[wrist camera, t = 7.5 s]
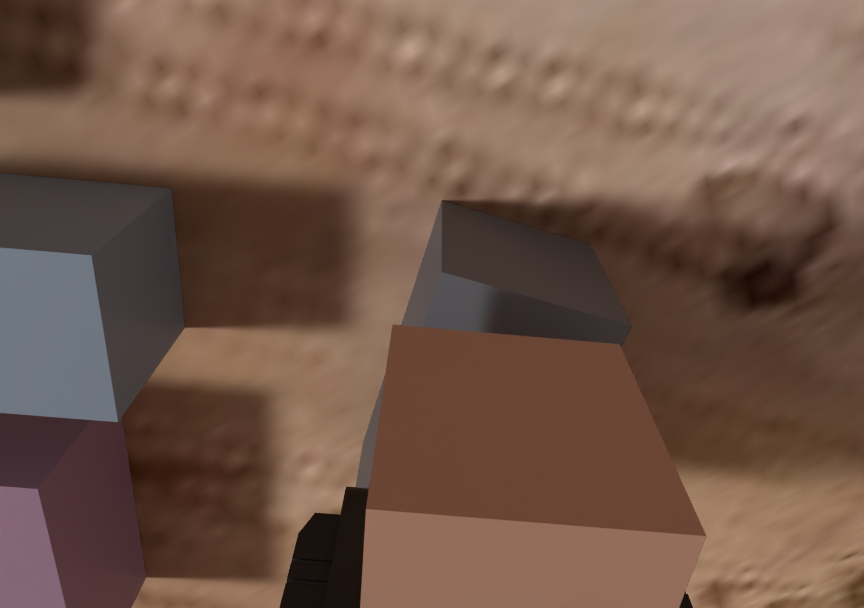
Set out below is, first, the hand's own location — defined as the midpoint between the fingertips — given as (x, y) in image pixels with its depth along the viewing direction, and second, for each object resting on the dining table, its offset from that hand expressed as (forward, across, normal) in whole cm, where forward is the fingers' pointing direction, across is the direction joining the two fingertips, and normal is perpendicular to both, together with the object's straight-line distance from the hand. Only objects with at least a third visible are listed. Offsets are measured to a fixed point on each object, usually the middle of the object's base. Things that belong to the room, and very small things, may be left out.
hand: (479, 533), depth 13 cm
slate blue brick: (+7, +12, -2) cm, 14 cm away
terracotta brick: (+1, 0, 0) cm, 1 cm away
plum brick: (+7, +12, +6) cm, 15 cm away
